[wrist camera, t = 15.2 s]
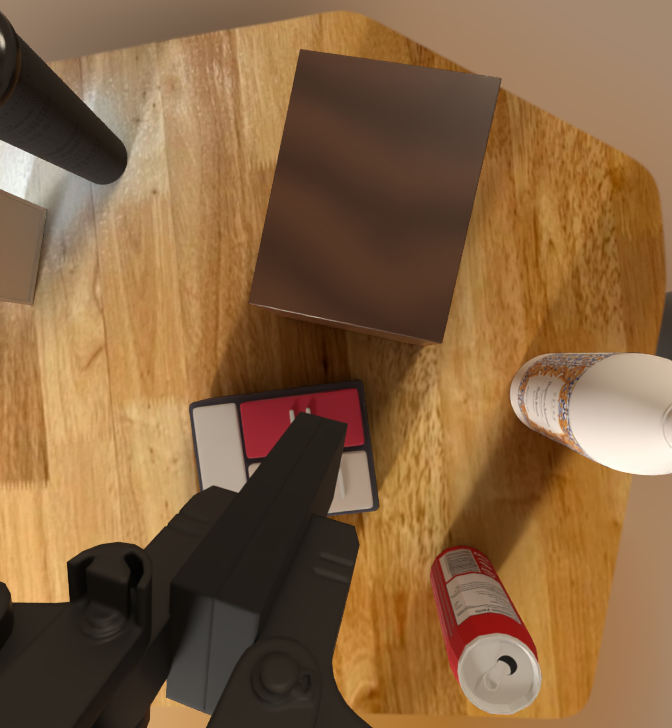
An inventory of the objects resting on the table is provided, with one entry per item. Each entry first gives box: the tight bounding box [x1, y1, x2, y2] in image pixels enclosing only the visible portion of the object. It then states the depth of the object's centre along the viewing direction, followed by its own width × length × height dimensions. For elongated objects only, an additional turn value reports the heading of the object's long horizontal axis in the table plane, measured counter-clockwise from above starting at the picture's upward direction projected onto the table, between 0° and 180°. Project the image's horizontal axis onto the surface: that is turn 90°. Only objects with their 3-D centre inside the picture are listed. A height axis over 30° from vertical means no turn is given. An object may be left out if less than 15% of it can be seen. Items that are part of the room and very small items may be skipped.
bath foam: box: [510, 353, 672, 475], centre depth 26 cm, size 7×7×20 cm
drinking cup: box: [0, 11, 127, 184], centre depth 29 cm, size 8×8×20 cm
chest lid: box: [248, 49, 501, 344], centre depth 27 cm, size 17×13×1 cm
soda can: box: [430, 545, 542, 715], centre depth 31 cm, size 6×6×12 cm
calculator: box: [189, 380, 379, 516], centre depth 36 cm, size 11×4×15 cm
